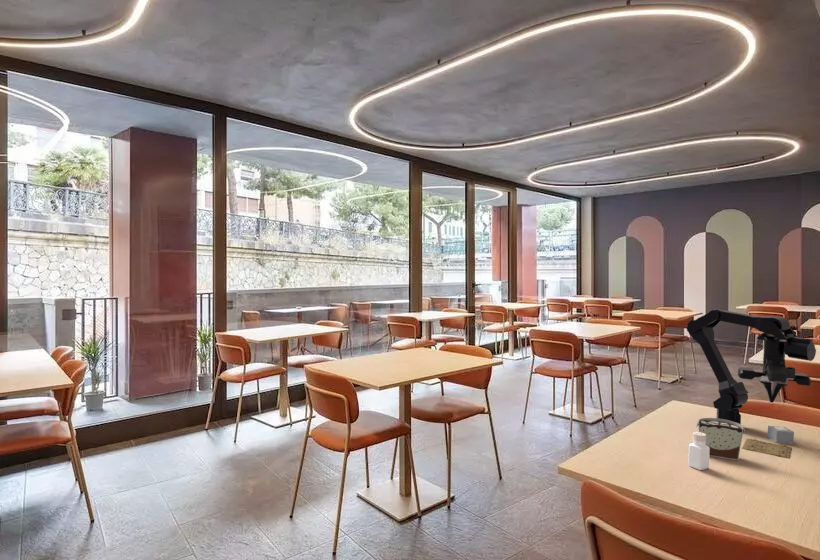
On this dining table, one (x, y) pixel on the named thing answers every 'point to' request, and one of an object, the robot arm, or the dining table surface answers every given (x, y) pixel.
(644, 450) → the dining table surface
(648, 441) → the dining table surface
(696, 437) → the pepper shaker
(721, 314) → the robot arm
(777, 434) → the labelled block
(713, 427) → the food container
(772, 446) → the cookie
